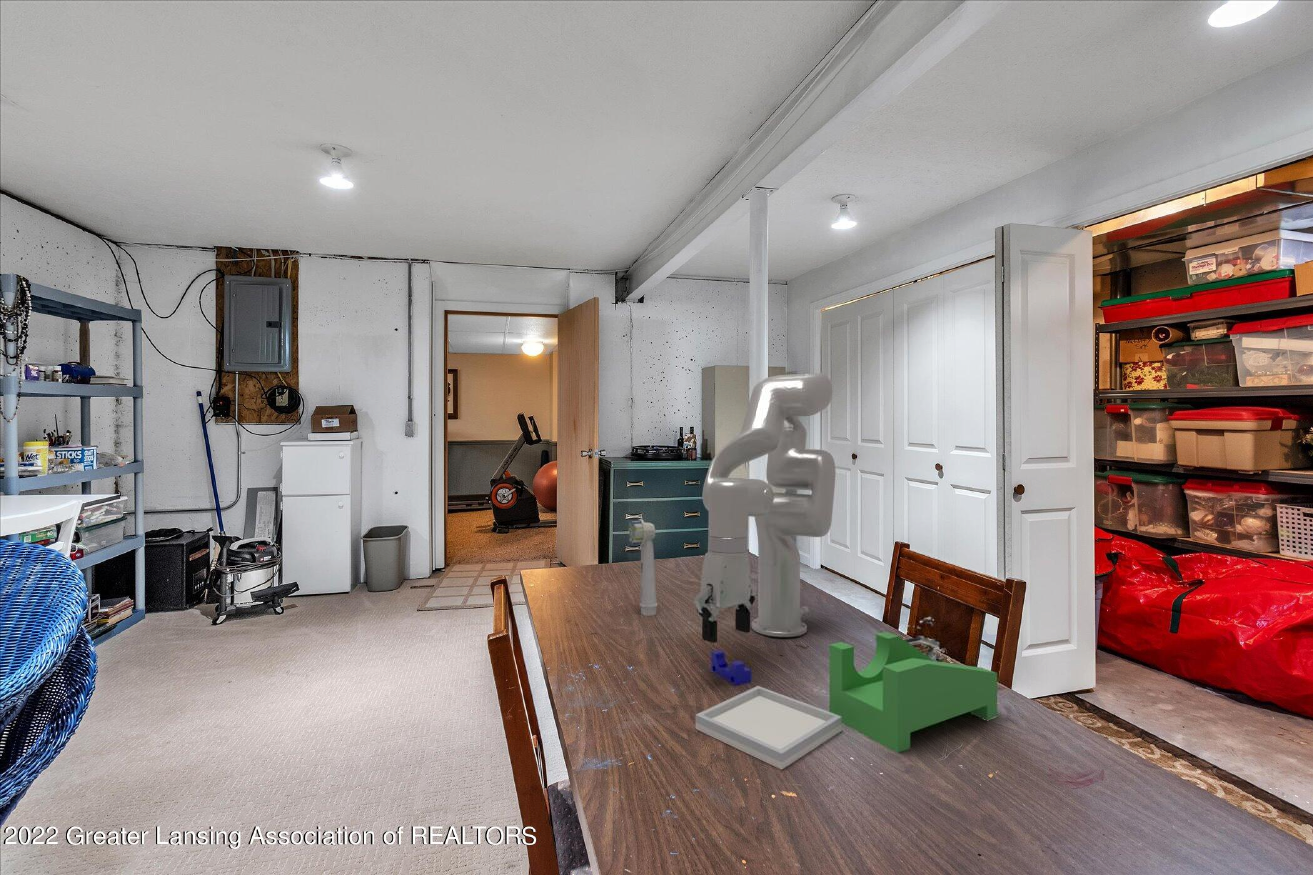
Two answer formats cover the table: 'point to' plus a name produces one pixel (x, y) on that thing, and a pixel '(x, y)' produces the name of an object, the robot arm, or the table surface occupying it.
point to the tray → (769, 725)
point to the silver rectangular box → (926, 644)
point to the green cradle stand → (905, 691)
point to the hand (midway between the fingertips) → (726, 635)
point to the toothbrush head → (645, 564)
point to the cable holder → (730, 669)
